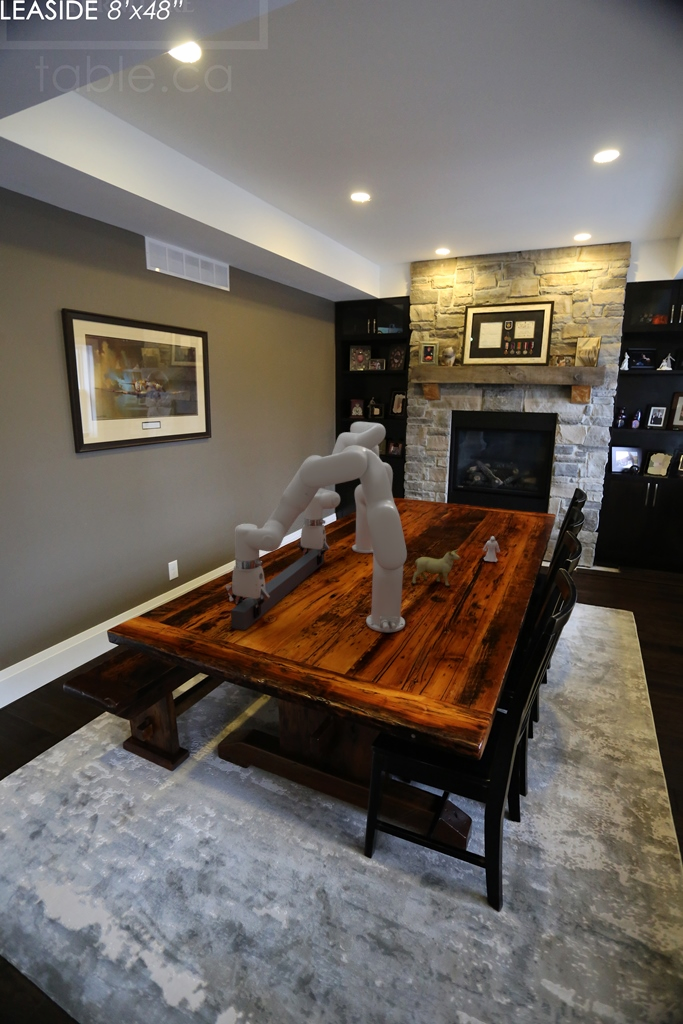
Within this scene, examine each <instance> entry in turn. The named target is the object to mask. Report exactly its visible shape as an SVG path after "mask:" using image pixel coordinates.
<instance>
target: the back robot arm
mask: <svg viewBox="0 0 683 1024" xmlns="http://www.w3.org/2000/svg"><path fill="white" fill-rule="evenodd" d="M349 430H350V431H348V432H345V431H344V432H342V433H340V434H339V435H338V437H337V439H336V441H335V444H334V447H333V450H332V453H331V455H334V454H338V453H341V452H342V450H343V449H345V448H346V447H348V446H352V445H357V446H361V447H365V448H367V449H369V450H371V451H372V452H374V453H375V454H376V455H377V456H378V457H379V458H380V447H379V445H380V444H381V443H382V442H383V441H384V440H385V438H386V433H387V431H386V428H385V426H384V425H383V424H381V423H379V422H368V421H354V422H353V423H351V424H350V428H349ZM382 463H383V464H384V466H385V469H386V471H387V475H388V478H389V482H390V486H391V490H392V491H393V478H394V476H393V475H394V472H393V469H392V466H391V465H390V464H389V463H387V462H383V461H382ZM325 487H326V486H324V487H320V489H319V490H318V492H317V493H316V495H315V496H314V498H313V499H312V501H311V502H310V504H309V505H308V507H307V508H306V509H305V511H303V524H302V528H301V533H300V540H299V541H298V542H297V543H296V547H298V549H299V550H300V551H301V552H302V554H303V556H304V555H305V554H307V553H308V552H309V551H310V550H312V549H317V552H318V556H317V565H320V564H321V563H322V554H324V555H325V553H327V552H328V551H330V549H331V547H330V546H329V545H328V543H327V534H326V533H327V532H326V527H325V525H326V520H324V517H323V510H332V509H335V508H337V507H338V506H339V505H340V503H341V496H340V494H339V493H338V492H336V491H334V490H330V489H325ZM354 500H355V501H354V502H355V511H356V512H355V544H353V545H352V546H351V550H352V551H353V552H355V553H358V554H373V545H372V541H371V536H370V532H369V527H368V523H367V507H366V502H365V497H364V493H363V489H362V485H361V483H360V484H359V485H357V486H356V487H355V489H354ZM309 549H310V550H309ZM322 549H324V550H322Z"/></svg>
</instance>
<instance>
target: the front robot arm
mask: <svg viewBox="0 0 683 1024" xmlns="http://www.w3.org/2000/svg"><path fill="white" fill-rule="evenodd" d="M382 462H383V461H382V459H381V458H380V456H379V457H378V456H377V455H376V454H375V453H374V452H372V451H371V450H369V449H367V448H365V447H361V446H357V445H352V446H348V447H346V448H345V449H343V450H342V452H341V453H338V454H334V455H332V454H329V455H326V456H321V455H318V454H312V455H310V456H308V457H306V459H304V461H303V463H302V464H301V465H300V467H299V468H298V470H297V471H296V473H295V475H294V476H293V477H292V479H291V481H289V484H288V485H287V487H286V488H285V490H283V493H282V494H281V497H280V501H279V502H278V504H277V505H276V507H275V508H274V510H273V511H272V513H271V514H270V516H269V518H268V519H267V521H266V522H265V524H264V525H263V526H262V527H261V528H259V527H258V526H257V525H256V524H253V523H241V524H238V525H236V526H235V527H234V557H235V558H234V559H235V560H234V562H235V565H234V566H233V571H232V579H231V587H230V588H229V589H228V591H227V590H226V591H227V593H229V594H230V595H231V596H232V598H233V599H234V603H235V604H236V606H237V605H238V604H240V603H241V602H242V601H244V600H243V599H244V597H246V598H253V600H254V604H255V607H254V618H257V617H259V616H260V614H261V604H262V603H264V602H265V601H266V600H267V599H269V598H270V596H269V594H268V593H267V592H266V590H265V584H266V579H265V572H264V569H263V565H264V562H263V561H262V560H261V558H260V551H263V552H274V551H276V550H278V549H279V548H280V546H281V545H282V542H283V540H284V538H285V536H286V535H287V534H288V531H289V530H290V529H291V527H292V526H293V525H294V523H295V521H296V520H297V518H298V517H299V516H300V515H301V514H303V513H304V511H305V509H306V508H307V507H308V505H309V504H310V502H311V501H312V499H313V498H314V496H315V495H316V493H317V492H318V490H319V489H320V487H324V486H325V487H329V486H334V485H338V484H341V483H342V484H343V483H347V482H350V481H354V480H357V479H359V480H360V484H361V485H362V489H363V493H364V497H365V502H366V507H367V523H368V527H369V532H370V536H371V541H372V545H373V553H372V585H371V586H372V587H371V607H370V609H371V613H370V615H368V616H367V617H366V621H365V622H366V623H365V624H366V625H367V627H368V628H369V629H372V630H373V631H376V632H379V633H396V632H398V631H402V630H403V629H404V628H405V626H406V620H405V618H403V617H402V615H401V614H402V599H403V598H402V597H403V580H404V564H405V562H406V560H407V557H408V550H407V546H406V545H407V544H406V541H405V535H404V531H403V525H402V521H401V517H400V513H399V510H398V508H397V505H396V504H395V503H396V502H395V499H394V496H393V489H392V490H391V486H390V482H389V478H388V475H387V471H386V469H385V466H384V464H383V463H382ZM260 594H261V595H263V598H262V599H261V596H260Z"/></svg>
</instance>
